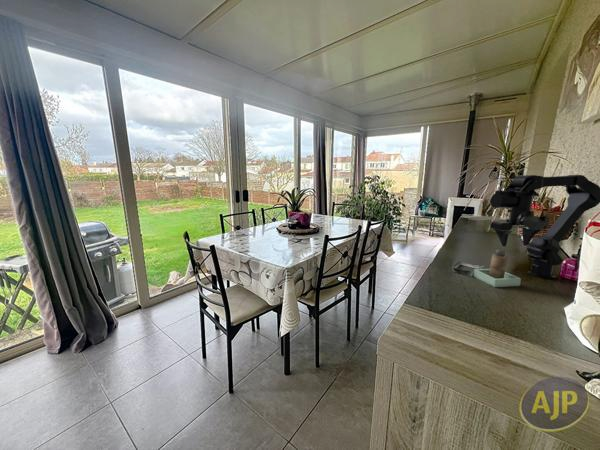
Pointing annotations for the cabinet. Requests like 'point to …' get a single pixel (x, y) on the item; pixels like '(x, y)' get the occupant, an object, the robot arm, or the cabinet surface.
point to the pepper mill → (498, 264)
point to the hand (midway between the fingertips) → (514, 245)
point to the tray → (503, 282)
